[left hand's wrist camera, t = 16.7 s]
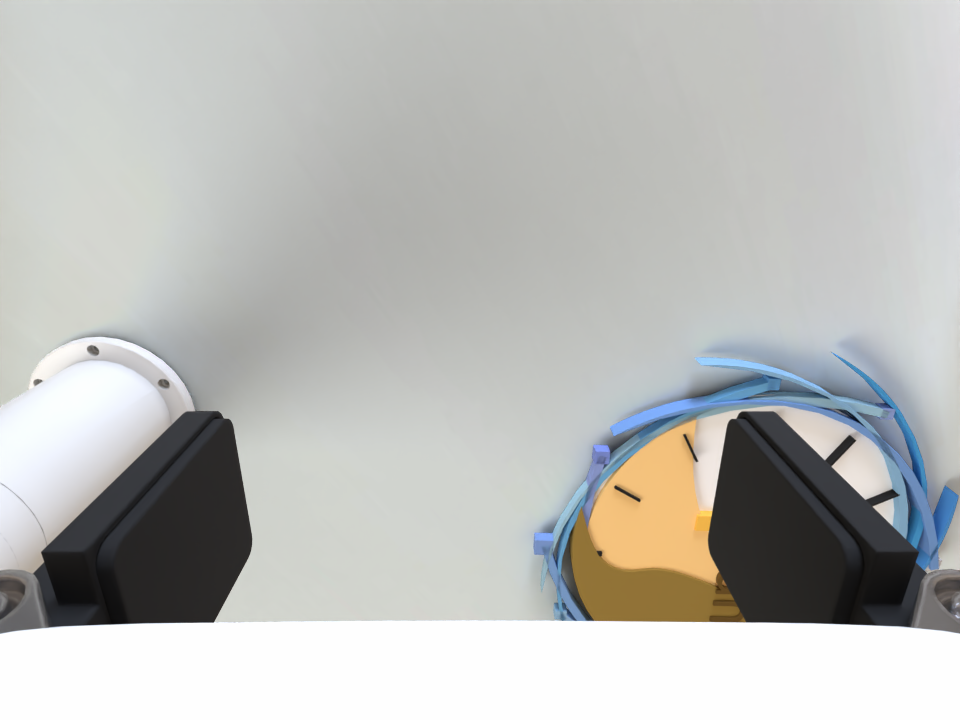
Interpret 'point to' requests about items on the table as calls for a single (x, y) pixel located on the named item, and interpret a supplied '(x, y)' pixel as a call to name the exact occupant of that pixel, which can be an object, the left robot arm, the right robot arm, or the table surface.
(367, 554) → the table surface
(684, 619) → the clock
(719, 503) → the left robot arm
